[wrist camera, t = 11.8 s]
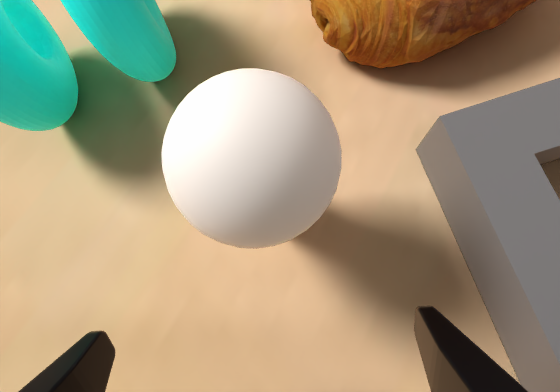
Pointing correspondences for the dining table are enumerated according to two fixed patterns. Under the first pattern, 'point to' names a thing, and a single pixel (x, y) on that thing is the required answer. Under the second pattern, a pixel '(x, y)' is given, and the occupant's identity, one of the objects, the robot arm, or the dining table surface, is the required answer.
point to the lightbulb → (251, 158)
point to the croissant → (405, 26)
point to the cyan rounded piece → (56, 62)
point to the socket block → (507, 218)
